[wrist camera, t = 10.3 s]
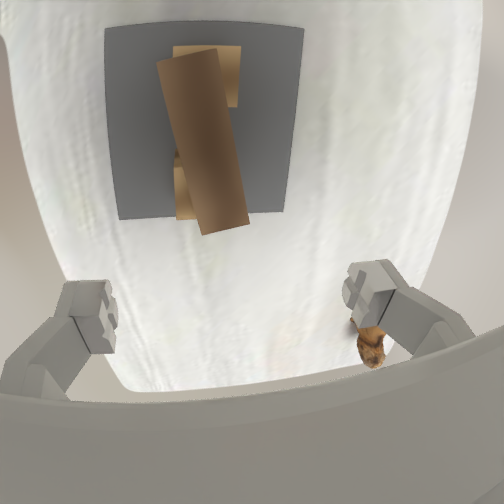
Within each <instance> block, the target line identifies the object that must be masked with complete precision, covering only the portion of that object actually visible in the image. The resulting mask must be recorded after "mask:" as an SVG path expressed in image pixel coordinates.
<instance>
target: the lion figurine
mask: <svg viewBox="0 0 504 504" xmlns="http://www.w3.org/2000/svg"><path fill="white" fill-rule="evenodd" d="M350 320H351V321H352V322H354V320H353V318H352V317H351V319H350ZM355 324H356V323H355ZM356 328H357V331H358V332H359V334H360V335H359V336H358V339H357V347H358V350H359V354H360V356H361V359H362V361H363V363H364V364H365V365H366V366H368V367H370V368H372V369H373V368H377V367H379V366H381V365H382V363H383V361H384V360H385V357H386V355H385V354H384V348H383V338H384V336H385V335H386V333H385V332H384V331H383V330H381V329H380V328H379V327H378V326H373V327H366V328H360V329H358V327H357V325H356Z"/></svg>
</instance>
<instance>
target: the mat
mask: <svg viewBox="0 0 504 504" xmlns="http://www.w3.org/2000/svg"><path fill="white" fill-rule="evenodd" d="M303 37H304V29H303V28H297V27H289V26H281V25H273V24H262V23H250V22H233V21H175V22H158V23H146V24H136V25H127V26H119V27H112V28H106V29H105V40H104V63H105V95H106V113H107V126H108V138H109V148H110V158H111V166H112V174H113V182H114V189H115V196H116V203H117V209H118V215H119V220H128V219H142V218H158V217H174V216H176V206H175V188H174V158H175V149H177V145H176V141H175V137H174V134H173V130H172V126H171V122H170V118H169V114H168V110H167V106H166V102H165V98H164V94H163V90H162V86H161V81H160V77H159V73H158V69H157V64H156V62H159V61H162V60H166V59H170V58H173V46H193V45H221V46H241V56H240V71H239V87H238V104H237V107H228V110H229V115H230V120H231V126H232V131H233V136H234V142H235V147H236V152H237V158H238V163H239V168H240V174H241V179H242V184H243V190H244V195H245V200H246V206H247V211H248V213H263V212H283V209H284V202H285V194H286V187H287V179H288V171H289V163H290V155H291V147H292V138H293V130H294V121H295V113H296V104H297V95H298V86H299V76H300V67H301V57H302V47H303Z"/></svg>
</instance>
